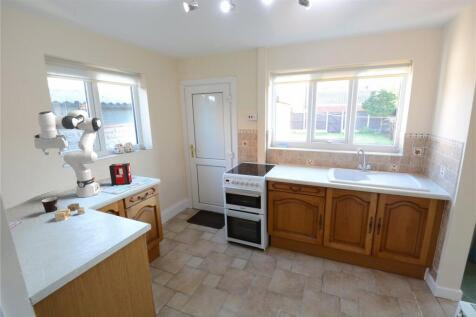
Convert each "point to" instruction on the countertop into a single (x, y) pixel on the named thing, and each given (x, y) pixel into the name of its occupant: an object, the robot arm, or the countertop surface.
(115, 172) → the cleaning product box
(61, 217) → the oak block
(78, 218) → the countertop surface
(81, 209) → the maple dowel
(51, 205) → the coffee mug
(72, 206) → the walnut cube
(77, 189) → the robot arm
